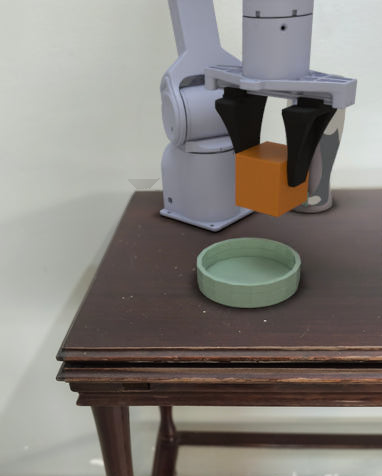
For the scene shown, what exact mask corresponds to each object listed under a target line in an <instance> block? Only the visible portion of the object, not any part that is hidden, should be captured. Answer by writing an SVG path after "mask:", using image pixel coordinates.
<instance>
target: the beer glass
mask: <svg viewBox="0 0 382 476" xmlns="http://www.w3.org/2000/svg"><path fill="white" fill-rule="evenodd" d="M330 74H331V75H335V76H340V77H344V76H342V75H340V74H334V73H333V74H332V73H330ZM285 101H286V102H285V108H286V107H289V106H292V105H294V104H295V105H297V100H291V99H286V100H285ZM346 109H347V107H346V108H344V109H338V108H337V111H336V113H335V114H334V116H333V118H332V119H331V121H330V122H329V124H328V126H327V128H326V129H325V131H324V133H323V135H322V137H321V139H320V141H319V143H318V145H317V148H316V150H315V153H314V156H313V158H312V161H311V164H310V167H309V177H308V190H307V201H305V202H304V203H302V204H300V205H298V206H297V207H295V208H293V209H291V210H290V211H294V212H298V213H303V214H304V213H305V214H317V213H322V212H326V211H328V210H329V209H330V208H331V207H333V191H332V190H333V189H332V177H333V171H334V167H335V164H336V159H337V156H338V152H339V149H340V145H341V141H342V137H343V132H344V128H345V119H346ZM284 134H285V138H286V132H285V131H284ZM285 145H287V140H286V139H285Z"/></svg>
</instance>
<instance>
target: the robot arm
mask: <svg viewBox="0 0 382 476" xmlns="http://www.w3.org/2000/svg"><path fill="white" fill-rule="evenodd" d="M167 5H168V9H169V15H170V20H171V27H172V31H173V36H174V40H175V47H176V51H177V56H178V57H177V58H176V59H175V61H174V62H173V63H172V64H171V65H169V67H168V68H167V69H166V70H165V72H164V73H163V75H162V77H161V80H160V84H159V93H160V97H161V98H160V100H161V119H162V125H163V129H164V133H165V135H166V138H167V139H168V141H170V142H169V143H168V144H167V145H166V147H165V148H164V150H163V153H162V156H161V162H160V170H161V171H160V172H161V184H162V194H163V195H162V197H163V208H162V209H161V210H159V214H160V215H161V216H164V217H167V218H170V219H173V220H176V221H180V222H183V223H186V224H189V225H192V226H194V227H195V226H196V227H198V228H202V229H205V230H208V231H212V232H218V231H220V230H222V229H223V228H226V227H228V226H230V225H232V224H233V223H235V222H237V221H239V220H241V219H243V218H245V217H247V216H248V215H251V214H252V213H253V212H255V211H254V210H250V209H246V208H243V207H239V206H236V205H235V154H237V153H240V152H242V151H244V150H247V149H249V148H252V147H254V146H256V145H259V144H261V133H262V128H263V127H262V125H263V120H264V114H265V110H266V105H267V101H268V99H269V97H271V98H277V99H285V100H287V99H291V100H297V105H295V104H294V105H292V106H289V107H286V106H285V107H284V108H282V109H281V118H282V122H283V127H284V133H285V132H286V137H285V141H286V140H287V181H288V186H289V187H296V186H298V185H300V184H302V183H304V182H306V178H307V174H308V171H309V167H310V164H311V161H312V158H313V156H314V153H315V150H316V148H317V145H318V143H319V141H320V139H321V137H322V135H323V133H324V131H325V129H326V128H327V126H328V124H329V122H330V121H331V119H332V118H333V116H334V114H335V113H336V111H337V108H338V109H344V108H346V109H347V108H348V107H351V106H353V105H355V103H356V96H357V88H358V87H357V86H358V78H352V77H346V76H343V77H340V76H341V75H340V76H335V75H336V74H334V75H331V74H332V73H326V72H322V71H317V70H313V69H310V67H311V51H312V50H311V49H312V35H313V23H314V8H315V7H314V5H315V0H242V7H241V9H242V11H241V12H242V16H241V17H242V18H241V20H242V22H241V25H242V26H241V30H242V31H241V32H242V33H241V34H242V35H241V46H242V47H241V60H240V59H239V58H238V57H236V56H235V55H233V54H232V53H230V52H229V51H227V50H226V49H225V48H223V47H222V45H221V44H222V43H221V39H220V34H219V29H218V23H217V22H218V21H217V17H216V12H215V5H214V0H167Z"/></svg>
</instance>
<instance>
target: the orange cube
mask: <svg viewBox="0 0 382 476" xmlns="http://www.w3.org/2000/svg"><path fill="white" fill-rule="evenodd" d="M308 177H309V171H308V174H307V178H306V182H304V183H302V184H300V185H298V186H296V187H289V186H288V181H287V145H286V144H283V143H279V142H274V141H269V140H266V141H263V142H262V143H261V142H260V144H259V145H256V146H254V147H252V148H249V149H247V150H244V151H242V152H240V153H237V154H235V205H236V206H239V207H243V208H246V209H250V210H254V212H257V213H260V214H264V215H268V216H271V217H275V218H279V217H280V216H282V215H284V214H286V213H287V212H289V211H292V210H291V209H293V208H295V207H297V206H298V205H300V204H302V203H304V202H305V201H307V190H308Z"/></svg>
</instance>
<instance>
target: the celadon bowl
mask: <svg viewBox="0 0 382 476" xmlns="http://www.w3.org/2000/svg"><path fill="white" fill-rule="evenodd" d="M300 257H301V256H300V254H299V253H298V252H297V251H296V250H295V249H294V248H292V247H291V246H290V245H287V244H285V243H283V242H280V241H277V240H273V239H268V238H264V237H263V238H262V237H238V238H230V239H225V240H221V241H217V242H215V243H212V244H211V245H209V246H207V247H205V248H204V249H203V250H202V251H200V253H199V255H197V256H196V278H197V279H196V280H197V287H198V289H199V291H200V293H201V294H202V295H204V296H205V298H208V300H211V301H213V302H215V303H217V304H219V305H220V304H221V305H224V306H228V307H232V308H242V309H243V308H244V309H254V308H263V307H269V306H273V305H277V304H280V303H282V302H284V301H287V300H288V299H289V298H291V297H292V296H293V295H295V293H296V292H297V290H298V289H299V284H300V281H301V268H302V261H301V258H300Z"/></svg>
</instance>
